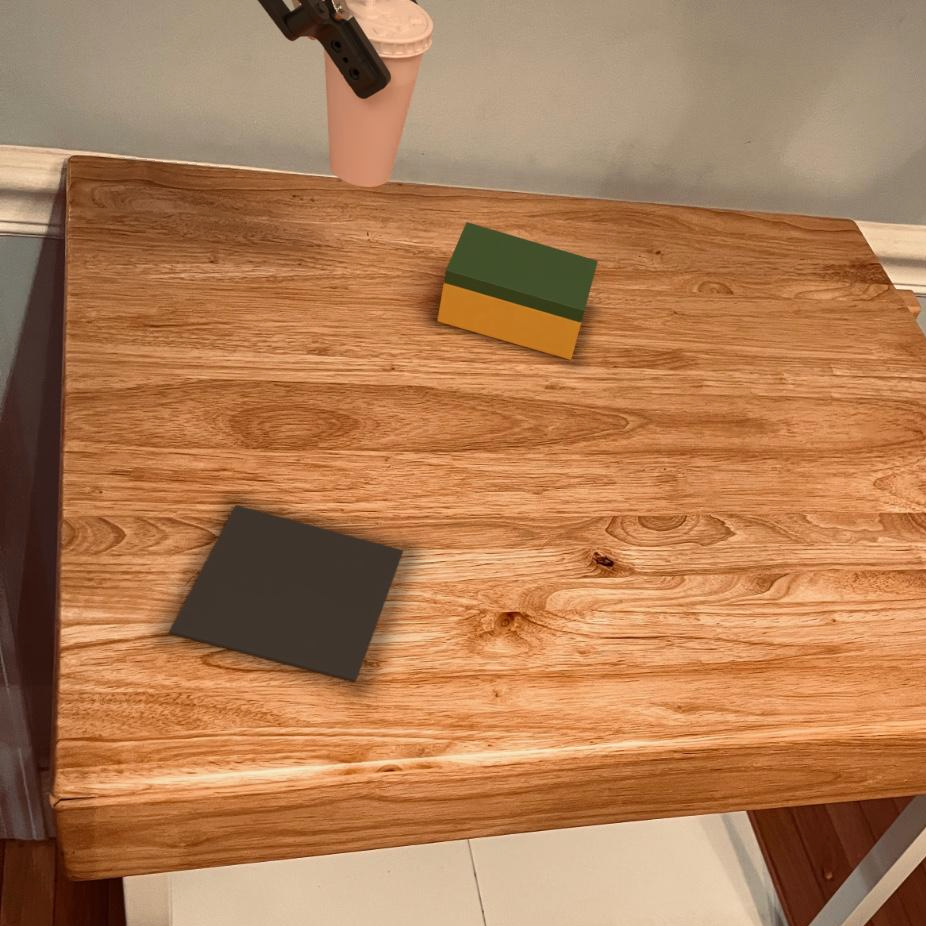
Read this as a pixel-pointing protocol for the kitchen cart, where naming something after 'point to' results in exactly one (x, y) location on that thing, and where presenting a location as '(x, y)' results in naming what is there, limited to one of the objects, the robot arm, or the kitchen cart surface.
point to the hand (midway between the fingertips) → (398, 65)
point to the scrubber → (516, 290)
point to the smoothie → (383, 114)
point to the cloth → (290, 593)
